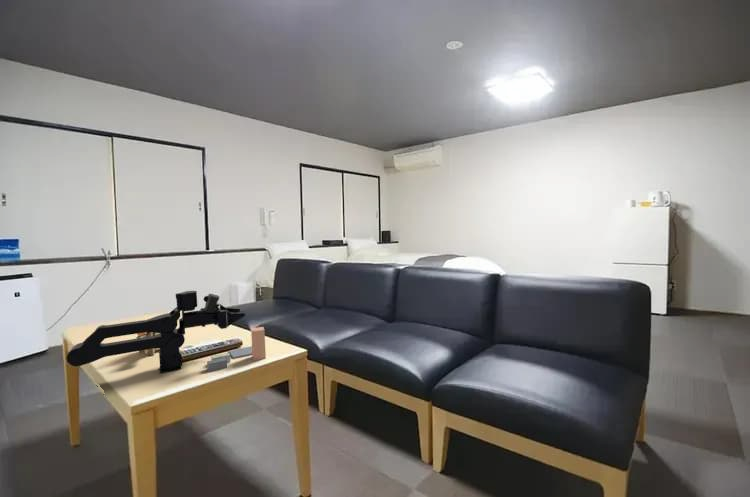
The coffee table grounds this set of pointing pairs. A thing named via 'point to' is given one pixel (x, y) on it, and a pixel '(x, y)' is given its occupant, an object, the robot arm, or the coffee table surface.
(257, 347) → the terracotta block
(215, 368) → the charcoal brick
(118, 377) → the coffee table surface
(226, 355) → the sage brick
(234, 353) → the slate pad
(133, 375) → the coffee table surface
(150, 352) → the toy house
